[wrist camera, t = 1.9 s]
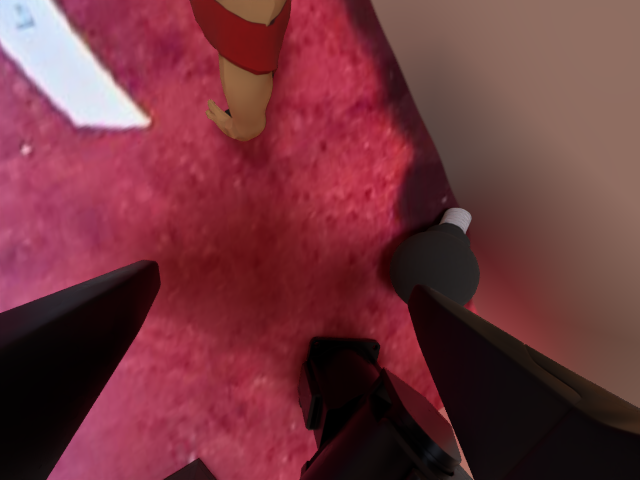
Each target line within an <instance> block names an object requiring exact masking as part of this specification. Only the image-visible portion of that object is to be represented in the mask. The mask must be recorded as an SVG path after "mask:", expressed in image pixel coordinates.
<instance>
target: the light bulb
mask: <svg viewBox="0 0 640 480" xmlns="http://www.w3.org/2000/svg"><path fill="white" fill-rule="evenodd" d="M470 221H471V215H470V214H469V213H468V212H467V211H466V210H464V209H460V208H451V209H449V210H447V211H446V212H445V214H444V216H443V218H442V220H441V222H440V224H439V225H435V226H432V227H430V228H428V229H427V231H426V232H421V233H418V234H415V235H413V236H411V237H409V238H407V239H406V240H404V241H403V242H402V243H401V244H400V245H399V246H398V247H397V249H396V250H395V252H394V254H393V256H392V259H391V263H390V279H391V283H392V285H393V287H394V289H395V291H396V293H397V294H398V296H399V297H400V298H401V299H402V300H403V301H404V302H405V303H406V304H408V300H409V298H410V295H411V293H412V290H413V288H414V286H415V285H417V284H421V285H427V286H429V287H431V288H433V289H434V290H436V291H438V292H439V293H441V294H443V295H444V296H446V297H448V298H449V299H451V300H453V301H454V302H456V303H458V304H459V305H461V306H464V305H465V304H466V303H467V302H468V301H469V300H470V299H471V298H472V297H473V295H474V294H475V292H476V289H477V286H478V283H479V275H480V272H479V266H478V263H477V260H476V257H475V256H474V254H473V252H472V251H471V249H470V248H469V247H470V241H469V239H468V237H467V236H466V235H465V232H466V231H467V228H468V226H469V224H470Z"/></svg>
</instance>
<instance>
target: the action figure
mask: <svg viewBox="0 0 640 480" xmlns="http://www.w3.org/2000/svg"><path fill="white" fill-rule="evenodd" d="M190 3H191V6H192V9H193V13H194V16H195V19H196V21H197V23H198V24H199V26H200V27H201V29H202V31H203V33H204V36H205V37H206V39H207V40H208V41H209V43H210V44H211V45H212V46H213V47H214V48H215V49H217V50H218V53H219V66H220V78H221V83H222V87H223V91H224V94H225V97H226V99H227V103H228V107H229V109H228V110H226V111H225V112H224V111H222V110H221V109H219V107H218V106H217V105H215V102H214V101H212V100H208V106H209V109H210V110H211V111H212V112H213V113H214V114H213V113H212V112H211V111H210V110H207V111H206V115H207V117H208V118H209V119H211V120H213V121H214V122H215V123H216V124H217V126H218V127H219V128H220V130H221V131H222V132H223V133H224V134H226V135H227V136H229V137H232V138H234V139H237V140H240V141H248V140H250V139H252V138H255V137H257V136H258V135H259V134H260V133H261V132H262V131H263V130H264V128H265V124H266V116H265V110H266V107H267V104H268V102H269V100H270V97H271V93H272V88H273V80H272V78H273V76H274V73H275V71H276V70H277V68H278V57H279V53H280V49H281V46H282V42H283V38H284V34H285V31H286V28H287V25H288V21H289V18H290V11H291V0H190Z"/></svg>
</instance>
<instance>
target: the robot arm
mask: <svg viewBox="0 0 640 480" xmlns="http://www.w3.org/2000/svg"><path fill="white" fill-rule="evenodd" d="M160 285H161V281H160V273H159V266H158V263H157V262H156V261H149V260H141V261H138V262H136V263H133V264H130V265H128V266H125V267H122V268H120V269H117V270H114V271H112V272H109V273H106V274H104V275H101V276H98V277H96V278H93V279H90V280H88V281H85V282H82V283H80V284H77V285H74V286H72V287H69V288H66V289H64V290H61V291H58V292H56V293H53V294H50V295H48V296H45V297H42V298H40V299H37V300H34V301H32V302H29V303H26V304H24V305H21V306H18V307H16V308H13V309H10V310H8V311H5V312H2V313H0V480H46V479H47V478H48V476H49V475H50V473H51V471H52V470H53V468H54V467H55V465H56V463H57V462H58V460H59V459H60V457H61V455H62V454H63V452H64V451H65V449H66V447H67V446H68V444H69V443H70V441H71V439H72V438H73V436H74V435H75V433H76V431H77V430H78V428H79V427H80V425H81V423H82V422H83V420H84V419H85V417H86V416H87V414H88V412H89V411H90V409H91V408H92V406H93V404H94V403H95V401H96V400H97V398H98V396H99V395H100V393H101V392H102V390H103V388H104V387H105V385H106V384H107V382H108V380H109V379H110V377H111V376H112V374H113V372H114V371H115V369H116V368H117V366H118V364H119V363H120V361H121V360H122V358H123V356H124V355H125V353H126V352H127V350H128V348H129V347H130V345H131V344H132V342H133V340H134V339H135V337H136V336H137V334H138V332H139V330H140V329H141V327H142V325H143V323H144V321H145V318H146V316H147V314H148V312H149V310H150V308H151V306H152V304H153V302H154V300H155V298H156V295H157V293H158V291H159V289H160ZM408 309H409V313H410V316H411V320H412V323H413V326H414V330H415V333H416V337H417V340H418V343H419V346H420V348H421V351H422V353H423V356H424V358H425V361H426V363H427V366H428V368H429V370H430V373H431V375H432V378H433V380H434V383H435V385H436V388H437V390H438V392H439V395H440V397H441V400H442V402H443V405H444V407H445V410H446V412H447V414H448V417H449V419H450V421H451V424H452V427H453V429H454V431H455V434H456V436H457V439H458V441H459V444H460V446H461V448H462V450H463V453H464V456H465V458H466V460H467V463H468V466H469V468H470V470H471V473H472V475H473V478H474V480H640V408H638V407H636V406H634V405H632V404H631V403H629V402H627V401H625V400H624V399H622V398H620V397H618V396H616V395H614V394H612V393H611V392H609V391H607V390H605V389H604V388H602V387H600V386H598V385H596V384H594V383H593V382H591V381H589V380H587V379H585V378H583V377H582V376H580V375H578V374H576V373H575V372H573V371H571V370H569V369H567V368H565V367H564V366H562V365H560V364H558V363H557V362H555V361H553V360H552V359H550V358H548V357H546V356H545V355H543V354H541V353H540V352H538V351H536V350H535V349H533V348H531V347H529V346H528V345H526V344H524V343H522V342H521V341H519V340H518V339H516V338H514V337H513V336H511V335H509V334H508V333H506V332H504V331H502V330H501V329H499V328H498V327H496V326H494V325H493V324H491V323H489V322H488V321H486V320H484V319H482V318H481V317H479V316H478V315H476V314H474V313H473V312H471V311H469V310H468V309H466V308H464V307H463V306H461V305H459V304H458V303H456V302H454V301H453V300H451V299H449V298H448V297H446V296H444V295H443V294H441V293H439V292H438V291H436V290H434V289H433V288H431V287H429V286H427V285H421V284H417V285H415V286H414V288H413V290H412V293H411V295H410V298H409V300H408ZM316 342H318V344H317V345H314V343H316ZM374 345H375V347H374V348H372V347H373V346H374ZM379 349H380V345H379V343H378V342H377V341H376V340H363V339H345V338H326V337H314V338H312V339H311V341H310V345H309V350H308V355H307V361H305V362H304V363H303V364H302V369H301V374H300V380H299V385H298V393H299V405H300V407H301V408H302V412H303V417H304V422H305V427H306V428H307V429H308V430H313V431H314V436H315V440H316V444H317V448H318V451H317V452H316V453H315V455H314V456H313V457H312V458H311V460H310V461H307V462H306V463H305V464H304V465H303V467H302V469H301V477H300V480H473V479H472V478H471V477H470V476H469V475H468V474H467V472H466V471H465V470H464V469H463V468H462V467H461V466H460V465H459V464H460V463H461V456H460V452H459V449H458V446H457V443H456V439H455V436H454V433H453V430H452V427H451V425H450V424H449V423H448V421H447V420H446V419H445V418H444V417H443V416H442V415H441V414H440V413H439V412H438V411H437V410H436V409H435V407H434V406H433V405H432V404H431V403H430V402H429V401H428V400H427V399H426V398H425V397H424V396H422V395H421V394H420V393H418V392H417V391H416V390H414V389H413V388H412V387H410V386H409V385H408V384H406V383H405V382H404V381H402V380H401V379H400V378H398V377H397V376H396V375H394V374H393V373H391V372H390V371H389V370H387V369H386V368H385V367H384V368H383V369H382V368H381V367H380V366H379V364H378V363H377V358H378V354H379Z"/></svg>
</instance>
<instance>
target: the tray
mask: <svg viewBox="0 0 640 480" xmlns="http://www.w3.org/2000/svg"><path fill="white" fill-rule="evenodd" d="M165 480H216V479H215V478H214V477H213V476H212V474H211V473H210V472H209V471H208V469H207V468H206V467H205V466H204V464H203V463H202V462H201V461H200V459H197V460H196V461H194V462H192V463H191V464H189V465H188V466H186V467H184V468H183V469H181V470H179V471H178V472H176V473H174V474H173V475H171V476H170V477H168V478H166V479H165Z"/></svg>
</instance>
